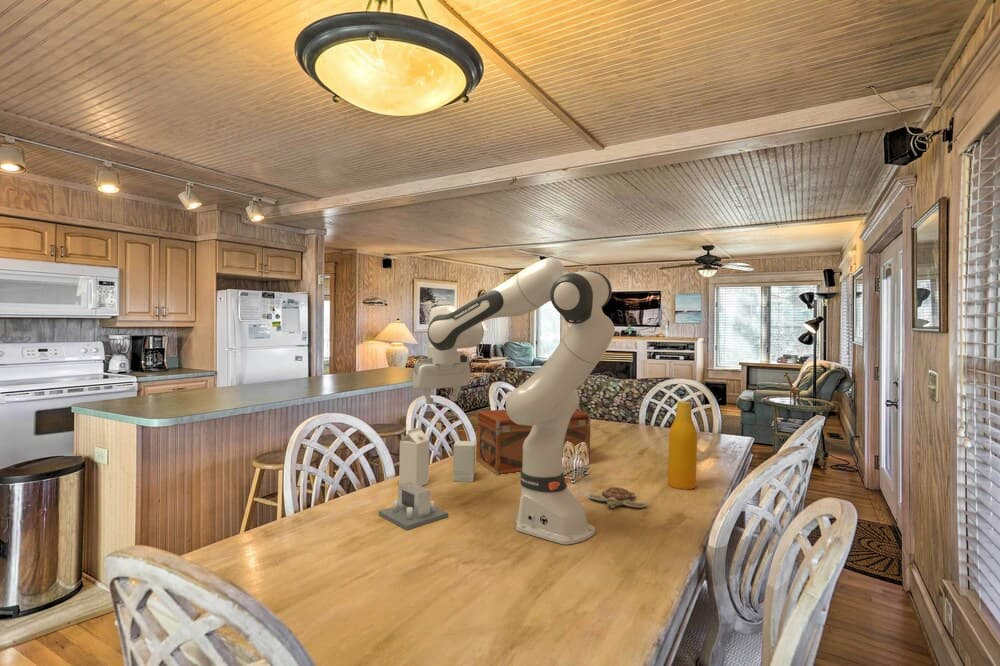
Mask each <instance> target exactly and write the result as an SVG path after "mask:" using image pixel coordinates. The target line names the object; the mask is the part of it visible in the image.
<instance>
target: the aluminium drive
mask: <svg viewBox="0 0 1000 666" xmlns="http://www.w3.org/2000/svg"><path fill="white" fill-rule="evenodd" d="M397 487H398V488H397V500H398V501H399V508H398V509H400V510H402V511H404V512H406V513H407V507H413V516H414V517H416V518H418V519H419V518H422V517H425V516H428V515H430V501H431V489H428V488H426V487H424V486H419V485H417V484H415V483H412V482H406V483H402V484H398V486H397Z"/></svg>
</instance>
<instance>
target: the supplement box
mask: <svg viewBox="0 0 1000 666" xmlns="http://www.w3.org/2000/svg"><path fill="white" fill-rule="evenodd" d="M452 455H453V459H452V461H453V462H452V463H453V464H452V468H453V469H452V481H453V482H466V483H467V482H468V483H472V482H474V479H475V474H476V473H475V471H476V468H475V467H476V441H475V440H474V441H473V440H456V441H455V442H454V444H453V454H452Z"/></svg>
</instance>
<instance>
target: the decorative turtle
mask: <svg viewBox="0 0 1000 666" xmlns="http://www.w3.org/2000/svg"><path fill="white" fill-rule="evenodd" d="M635 496H636V493H635V492H633V491H629V490H627V489H625V488H622V487H618V486H613V487H609V488H607V489H606V490H604V491H602V492H601V495H600V494H599V495H597V494H596V493H595V492H591V491H590V492H589V493H588V495H587V497H588V498H589V499H591V500H596V501H600V502H606V506H607V508H608V509H614V508H616V507H618V506H627V507H633V508H639V509H640V508H645V507H646V505H647V502H646V501H632V500H631V498H635Z"/></svg>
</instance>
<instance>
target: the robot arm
mask: <svg viewBox="0 0 1000 666" xmlns="http://www.w3.org/2000/svg"><path fill="white" fill-rule="evenodd" d="M612 291H613V289H612V284H611V282H610V280H609V279H608V277H606V276H605V275H604V274H603V273H600V272H597V271H596V270H576V271H574V272H569V271H568V270H567V269H566V268H565V265H564V264H563V263H562V262H561V261H560V260H558V259H556V258H553V257H546V258H543V259H541V260H538V261H536V262H534V263H532V264H531V265H528V266H527V267H525V268H523V269H522V270H520V271H519V272H517V273H516V274H515V275H513V276H512V277H510V278H508V279H507V280H505V281H504V282H502V283H501V284H499V285H497V286H496V287H494V288H493V289H491V290H489V291H487V292H485V293H484V294H482V295H480V296H477V298H474V299H473V300H471V301H469V302H467V303H465V304H464V305H463V306H461V307H459V308H457V307H456V306H455V305H453V304H439V305H436V306H434V307H432V308H431V309H430V312H429V317H428V324H427V325H428V327H427V337H428V341H429V342H428V347H427V358H419V359H417V360H416V361H415V363H414V364H413V365H414V366H413V373H412V374H413V375H412V384H411V385H412V388H413V389H414V390H416V391H422V394H423V396H424V398H425V404H426V405H433V404H434V398H433V397H431V393H432V392H431V391H432V390H436V389H447V388H452V390H453V392H452V394H450V395H449V397H450V399H449V400H450V402H457V401H458V395H459V393H460V391H461V387H463V386H464V387H465V386H469V384H470V381H471V368H470V364H469V362H470V356H469V355H466V354H463V353H461V352H459V351H457V350H459V349H470V348H471V349H472V348H474V347H477V346H479V345H480V344H481V342H482V341H483V338H484V335H485V333H484V332H485V331H484V326H483V324H482V323H483V322H485V321H488V320H493V319H497V318H509V317H510V318H511V317H519V316H520V317H521V316H524V315H526V314H530V313H532V312H534V311H537V310H538V309H539V308H541V307H543V306H544V305H546V304H547V303H549V302H551V304H552V306H553V308H555V310H556V311H557V312H558V313H559V314H560V315H561V316H562V318H563V319H564V320H565V321H566V323H568V324H571V326H570V328H569V329H568V331H567V332H566V333H565V335H564V336H563V338H562V339H561V341H560V342H559V344H558V345H557V346H556V348H555V350H554V351H552V352H553V353H552V354H551V355H550V357H548V359H547V360H546V361H545V362H544V363H543V365H541V366H540V368H538V369H537V370H536V371H535V372H534V373H533V374H531V376H530V377H529V378H527V380H526V381H524V382H523V383H522V384H521V385H519V386H518V387H516V388H514V389H513V390H511V391H509V393H508V395H507V396H506V399H505V410H506V411H507V414H508V416H509V418H510V419H511V420H512V421H513V422H514V423H516V424H519V425H529V426H532V429H531V432H530V434H529V435H528V437H527V438H526V439H525V441H524V443H523V462H522V470H521V473H520V476H519V479H520V485H521V489H520V498H519V504H518V509H517V513H516V516H515V520H514V521H515V524H516V526H515V530H516V531H517V532H519V533H523V534H526V535H529V536H532V537H533V536H534V537H537V538H539V539H544V540H547V541H551V542H553V543H556V544H561V545H572V544H577V543H580V542H583V541H585V540H587V539H590V538H591V537H592V536H594V535H595V534H596V526H594V525H592V524H591V523H588V521H587V520H588V518H587V512H586V508H585V506H584V505H583V504H582V503H581V502H580V501H579V499H578V498H576V497H575V495H574V494H573V493H572V492H571V491H570V489H568V483H571V481H570V479H571V477H569V478H568V477H567V478H566V476H565V474H564V472H563V468H562V457H563V444H564V439H565V435H566V431H567V428H568V425H569V422H570V419H571V417H572V415H573V413H574V412H575V411H576V410H578V407H579V404H580V395H579V393H578V390H577V388H579V387H581V386H582V385H583V384H584V383H585V382H586V380H587V378H588V377H589V375H590V374H591V373H592V372H593V370H594V369H595V368H596V366H598V365H597V364H599V362H600V360H602V358H603V356H604V355H605V353H606V352H607V350H608V348H609V347H610V344H611V343H612V340H613V338H614V335H615V334H616V333H615V332H616V330H615V329H616V328H615V325H614V323H613V321H612V319H611V318H610V317H609V316H607V315H606V314H605V313H604V311H603V308H604V307H605V306H606V305H607V304H608V302H609V301H610V299H611V298H612V297H611V296H612V294H613V293H612Z"/></svg>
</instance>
